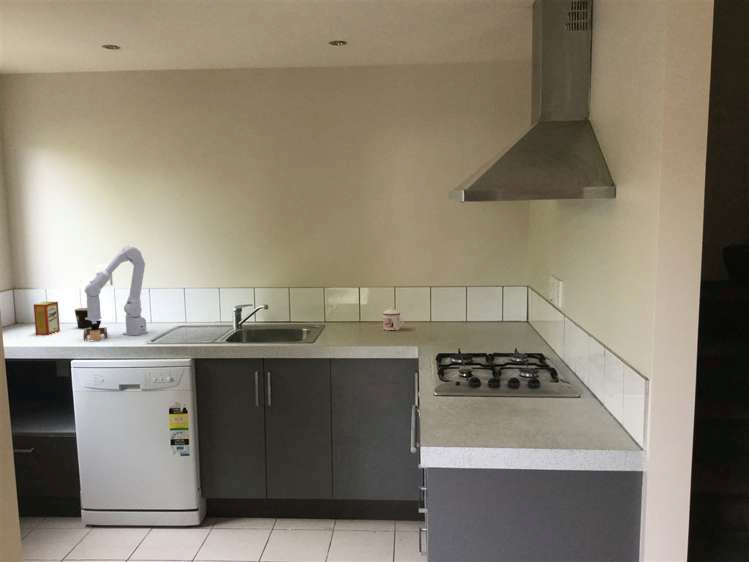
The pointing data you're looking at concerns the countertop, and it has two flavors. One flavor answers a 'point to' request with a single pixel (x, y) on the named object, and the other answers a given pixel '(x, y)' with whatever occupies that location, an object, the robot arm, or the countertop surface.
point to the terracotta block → (94, 334)
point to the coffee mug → (82, 318)
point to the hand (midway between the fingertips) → (95, 335)
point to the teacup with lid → (392, 319)
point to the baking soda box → (46, 318)
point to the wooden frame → (102, 330)
